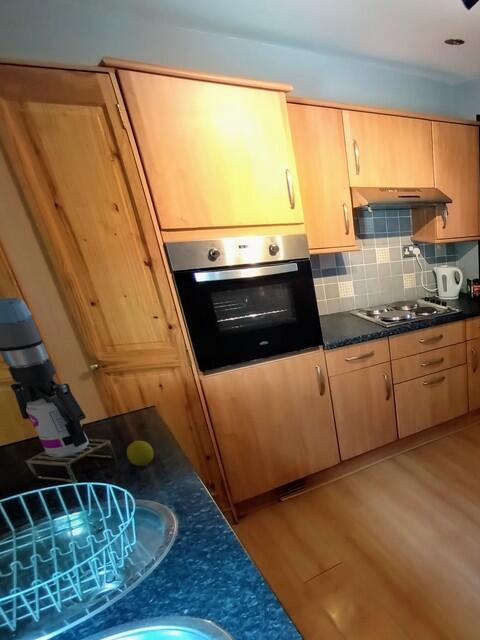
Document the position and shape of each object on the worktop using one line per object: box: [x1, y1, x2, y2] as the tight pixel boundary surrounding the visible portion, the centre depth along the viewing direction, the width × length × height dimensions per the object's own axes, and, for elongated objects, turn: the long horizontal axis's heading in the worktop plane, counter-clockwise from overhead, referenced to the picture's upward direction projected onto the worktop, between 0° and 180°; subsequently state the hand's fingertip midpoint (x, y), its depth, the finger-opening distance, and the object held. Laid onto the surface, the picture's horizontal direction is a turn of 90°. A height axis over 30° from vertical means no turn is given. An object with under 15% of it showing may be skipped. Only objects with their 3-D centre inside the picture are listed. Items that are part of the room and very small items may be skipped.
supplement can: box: [26, 394, 90, 458], centre depth 117 cm, size 8×8×15 cm
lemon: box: [126, 440, 155, 467], centre depth 124 cm, size 6×6×8 cm
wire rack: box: [24, 438, 119, 484], centre depth 121 cm, size 12×12×7 cm
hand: (66, 442), depth 119 cm, fingers closed on supplement can, 8 cm apart
